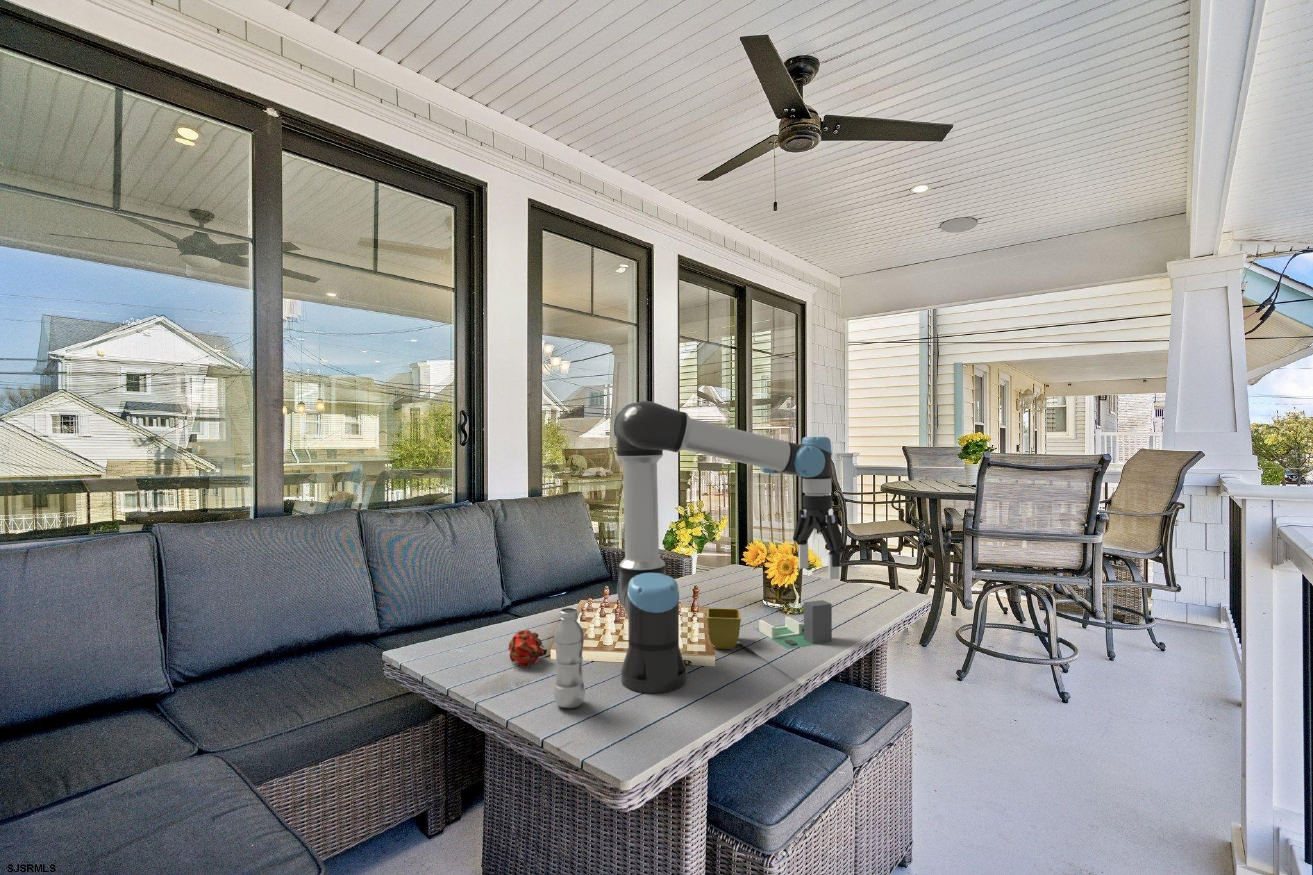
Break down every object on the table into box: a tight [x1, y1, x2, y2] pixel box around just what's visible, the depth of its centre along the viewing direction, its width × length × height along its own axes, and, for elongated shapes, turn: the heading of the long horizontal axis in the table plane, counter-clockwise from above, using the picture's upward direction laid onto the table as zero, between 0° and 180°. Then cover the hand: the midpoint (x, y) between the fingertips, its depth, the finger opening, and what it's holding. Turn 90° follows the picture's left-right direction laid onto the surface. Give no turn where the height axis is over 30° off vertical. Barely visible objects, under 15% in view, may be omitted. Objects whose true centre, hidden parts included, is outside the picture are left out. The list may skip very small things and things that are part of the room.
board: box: [755, 616, 837, 649], centre depth 168 cm, size 15×17×4 cm
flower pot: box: [706, 607, 742, 650], centre depth 162 cm, size 9×9×9 cm
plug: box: [803, 599, 833, 645], centre depth 163 cm, size 7×4×10 cm, turn 110°
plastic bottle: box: [553, 607, 586, 709], centre depth 128 cm, size 6×7×20 cm
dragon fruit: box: [508, 629, 548, 668], centre depth 151 cm, size 8×8×12 cm
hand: (818, 573), depth 163 cm, fingers open, 13 cm apart
